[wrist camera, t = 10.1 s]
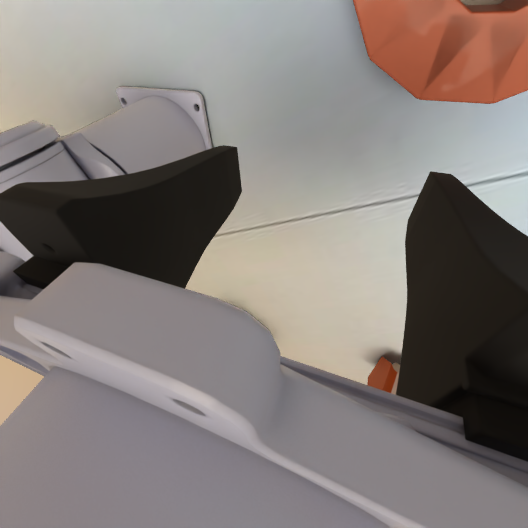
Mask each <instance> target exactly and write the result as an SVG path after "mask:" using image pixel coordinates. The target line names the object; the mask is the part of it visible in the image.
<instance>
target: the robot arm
mask: <svg viewBox="0 0 528 528" xmlns="http://www.w3.org/2000/svg"><path fill="white" fill-rule="evenodd" d="M116 93H117V96H118V98H119V101H120V103H121V106H122V108H123V109H120V110H118V111H116V112H114V113H112V114H110V115H108V116H106V117H104V118H102V119H100V120H98V121H96V122H94V123H91V124H89V125H87V126H85V127H83V128H81V129H79V130H77V131H75V132H73V133H71V134H69V135H66V136H63V137H60V135H59V134H58V132H57V131H56V129H55V128H54V127H53V126H51V125H46V126H45V125H44V124H43V123H40V122H37V121H30V122H28V123H25V124H22V125H20V126H17V127H15V128H12V129H9V130H7V131H4V132H2V133H0V355H2V356H4V357H6V358H8V359H10V360H12V361H14V362H16V363H19V364H20V365H22V366H24V367H26V368H29V369H31V370H33V371H35V372H37V373H39V374H41V375H43V376H45V377H44V378H43V379H42V380H41V381H40V383H39V384H38V385H37V386H36V387H35V388H34V389H33V390H32V391H31V392H30V394H29V395H28V396H27V397H26V398H25V399H24V400H23V401H22V403H21V404H20V405H19V406H18V407H17V408H16V409H15V410H14V412H13V413H12V414H11V415H10V416H9V417H8V418H7V419H6V421H4V423H3V424H2V425H1V426H0V528H528V236H526V235H525V234H523V233H522V232H520V231H519V230H517V229H516V228H514V227H513V226H512V225H510V224H509V223H508V222H506V221H505V220H504V219H503V218H501V217H500V216H499V215H497V214H496V213H495V212H494V211H493V210H491V209H490V208H489V207H488V206H487V205H486V204H484V203H483V202H482V201H481V200H480V199H479V198H478V197H477V196H475V195H474V194H473V193H472V192H471V191H470V190H469V189H468V188H467V187H466V186H465V185H464V184H462V183H461V182H460V181H459V180H458V179H457V178H455V177H454V176H453V175H451V174H445V173H437V172H430V173H429V176H428V178H427V180H426V182H425V184H424V187H423V189H422V191H421V193H420V195H419V197H418V200H417V202H416V204H415V206H414V208H413V210H412V213H411V215H410V217H409V219H408V224H407V232H406V241H405V248H406V272H407V310H406V321H405V330H404V339H403V348H402V356H401V363H400V370H399V377H398V384H397V390H396V395H395V394H392V393H389V392H386V391H383V390H380V389H377V388H374V387H371V386H368V385H365V384H362V383H359V382H356V381H353V380H350V379H347V378H344V377H341V376H338V375H335V374H332V373H329V372H326V371H323V370H320V369H317V368H314V367H311V366H308V365H306V364H303V363H300V362H297V361H294V360H291V359H288V358H285V357H282V356H280V351H279V349H278V347H277V345H276V343H275V341H274V339H273V336H272V335H271V333H270V331H269V329H268V328H266V327H265V326H264V325H263V324H261V323H260V322H259V321H258V320H256V319H255V318H254V317H253V316H252V315H250V314H249V313H248V312H247V311H244V310H242V309H240V308H238V307H235V306H233V305H231V304H229V303H227V302H224V301H222V300H220V299H218V298H214V297H211V296H208V295H204V294H201V293H197V292H194V291H191V290H187V289H185V287H186V285H187V283H188V281H189V279H190V277H191V275H192V273H193V271H194V269H195V267H196V265H197V263H198V261H199V259H200V258H201V256H202V254H203V252H204V250H205V249H206V247H207V246H208V244H209V243H210V241H211V240H212V238H213V237H214V236H215V234H216V233H217V231H218V230H219V229H220V227H221V226H222V224H223V223H224V222H225V220H226V219H227V217H228V216H229V215H230V213H231V212H232V210H233V209H234V207H235V205H236V203H237V201H238V199H239V196H240V194H241V192H242V188H241V179H240V170H239V161H238V152H237V147H232V146H224V145H223V146H218V147H214V148H212V144H211V139H210V133H209V128H208V122H207V117H206V111H205V106H204V100H203V97H202V95H201V94H200V93H199V92H197V91H186V90H171V89H156V88H142V87H127V86H120V87H117V89H116ZM124 99H125V100H126V101H125V100H124ZM196 104H198V105H199V107H200V110H199V109H198V108H197V106H196ZM58 137H59V138H58Z"/></svg>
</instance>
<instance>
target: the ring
mask: <svg viewBox="0 0 528 528" xmlns="http://www.w3.org/2000/svg"><path fill="white" fill-rule="evenodd" d="M353 2H354V6H355V10H356V13H357V17H358V21H359V24H360V28H361V32H362V35H363V39H364V43H365V46H366V50H367V53H368V56H369V57H370V60H371V61H372V62H374V63H375V64H376V65H377V66H378V67H380V68H381V69H382V70H383V71H384V72H386V73H387V74H388V75H389V76H390V77H392V78H393V79H394V80H395V81H396V82H398V83H399V84H400V85H401V86H402V87H404V88H405V89H406V90H407V91H408V92H410V93H411V94H412V95H413V96H414V97H416V98H417V99H418V98H419V99H420V100H434V101H451V102H468V103H485V104H491V103H496V102H498V101H501V100H504V99H506V98H509V97H511V96H514V95H517V94H519V93H522V92H524V91H527V90H528V0H505V1H504V2H502V3H500V4H494V5H464V4H463V3H462V2H461V1H460V0H353Z"/></svg>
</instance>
